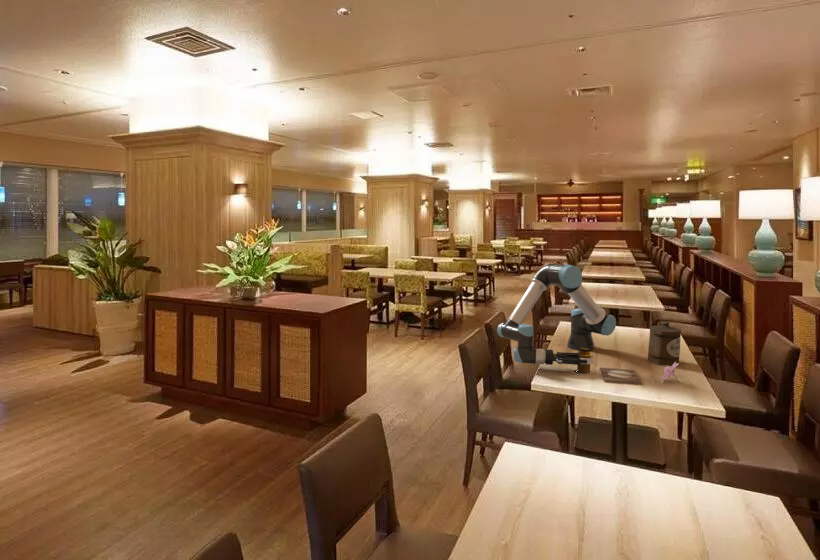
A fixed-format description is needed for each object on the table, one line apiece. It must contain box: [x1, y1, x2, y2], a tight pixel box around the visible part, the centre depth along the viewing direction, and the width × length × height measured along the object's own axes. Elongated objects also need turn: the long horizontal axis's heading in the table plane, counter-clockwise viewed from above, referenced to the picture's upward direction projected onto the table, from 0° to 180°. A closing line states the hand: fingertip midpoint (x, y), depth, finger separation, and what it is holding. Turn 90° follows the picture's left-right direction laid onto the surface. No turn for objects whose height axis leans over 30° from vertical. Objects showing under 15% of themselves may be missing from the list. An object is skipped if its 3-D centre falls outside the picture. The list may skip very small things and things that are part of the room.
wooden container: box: [647, 320, 682, 367], centre depth 273 cm, size 15×15×22 cm
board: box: [599, 366, 643, 386], centre depth 249 cm, size 20×16×1 cm
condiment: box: [571, 347, 594, 376], centre depth 256 cm, size 7×8×12 cm
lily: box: [660, 362, 680, 384], centre depth 241 cm, size 12×12×10 cm
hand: (593, 359), depth 255 cm, fingers closed on condiment, 6 cm apart
